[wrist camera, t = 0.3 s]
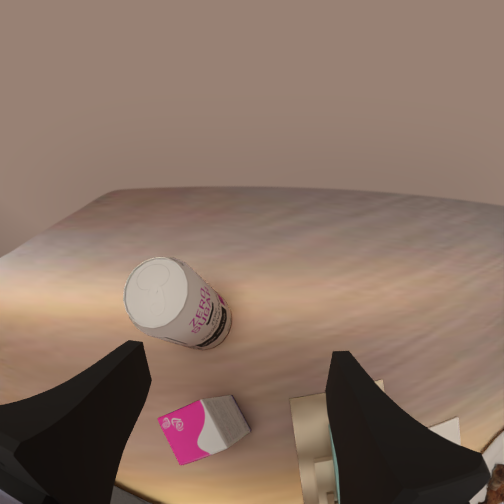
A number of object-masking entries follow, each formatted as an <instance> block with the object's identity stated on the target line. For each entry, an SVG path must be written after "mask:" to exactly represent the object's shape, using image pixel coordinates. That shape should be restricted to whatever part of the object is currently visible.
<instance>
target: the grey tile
mask: <svg viewBox="0 0 504 504" xmlns="http://www.w3.org/2000/svg"><path fill="white" fill-rule="evenodd" d="M428 429H430V430H432V431H433V432H435V433H437V434H438V435H440V436H442V437H444V438H446V439H448V440H450V441H452V442H454V443H456V444H458V445H460V446H461V444H460V429H459V418H458V417H457V416H456V417H454V418H452V419H449V420H447V421H444V422H441V423H439V424H436V425H433V426H431V427H428Z"/></svg>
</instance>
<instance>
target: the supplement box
mask: <svg viewBox="0 0 504 504" xmlns="http://www.w3.org/2000/svg"><path fill="white" fill-rule="evenodd" d="M158 421H159V424H160V426H161V428H162V430H163V432H164V434H165V436H166V438H167V440H168V442H169V444H170V446H171V448H172V450H173V452H174V454H175V456H176V458H177V460H178V462H179V464H180V465H185V464H188V463H191V462H194V461H197V460H200V459H202V458H205V457H208V456H210V455H213V454H215V453H218V452H220V451H223V450H225V449H227V448H229V447H230V446H232V445H233V444H234V443H236V442H237V441H239V440H240V439H241V438H243V437H244V436H245V435H247V434H248V433H249V432H251V429H250V427H249V425H248V424H247V422H246V420H245V418H244V417H243V415H242V413H241V411H240V409H239V407H238V405H237V403H236V401H235V399H234V397H233V396H232V395H227V396H221V397H214V398H207V399H201V400H198V401H196V402H194V403H192V404H189V405H187V406H185V407H183V408H180V409H178V410H176V411H173V412H171V413H169V414H166V415H164V416H162V417H159V418H158Z"/></svg>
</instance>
